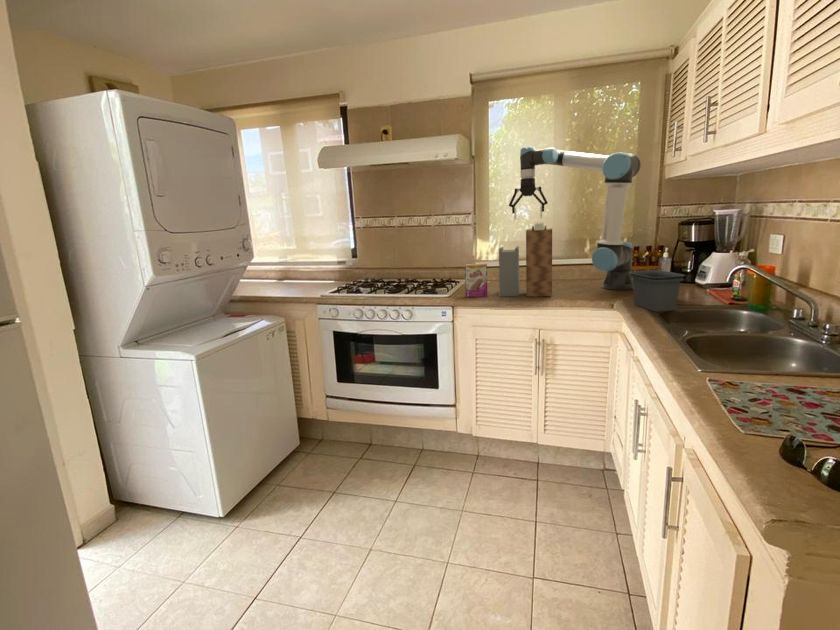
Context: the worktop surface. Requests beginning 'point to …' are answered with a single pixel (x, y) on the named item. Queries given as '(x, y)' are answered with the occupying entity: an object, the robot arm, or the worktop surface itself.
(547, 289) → the stand
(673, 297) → the storage bin
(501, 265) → the rack
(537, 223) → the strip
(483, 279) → the candy bar box
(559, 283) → the worktop surface
